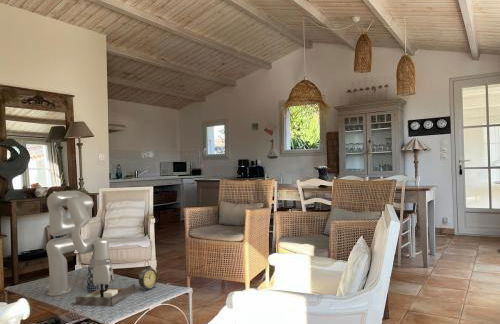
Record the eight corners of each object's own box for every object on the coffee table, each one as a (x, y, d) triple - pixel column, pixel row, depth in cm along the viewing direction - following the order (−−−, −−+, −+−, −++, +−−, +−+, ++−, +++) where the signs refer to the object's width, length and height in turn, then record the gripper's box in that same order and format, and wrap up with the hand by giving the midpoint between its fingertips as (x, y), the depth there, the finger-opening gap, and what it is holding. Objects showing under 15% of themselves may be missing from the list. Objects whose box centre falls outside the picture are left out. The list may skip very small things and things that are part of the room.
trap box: (75, 304, 202) (75, 295, 202) (101, 291, 223) (101, 283, 223) (112, 306, 196) (111, 297, 196) (135, 292, 218) (135, 284, 218)
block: (103, 300, 200) (103, 292, 200) (109, 296, 205) (109, 289, 205) (112, 300, 199) (111, 292, 199) (118, 297, 204) (117, 289, 204)
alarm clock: (144, 293, 215) (142, 264, 215) (137, 291, 218) (136, 263, 218) (158, 287, 224) (157, 259, 225) (151, 286, 227) (150, 258, 228)
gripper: (118, 260, 206) (120, 295, 206) (94, 260, 210) (96, 294, 210) (110, 264, 199) (111, 299, 199) (85, 263, 203) (87, 298, 202)
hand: (103, 296), depth 204 cm, fingers closed
